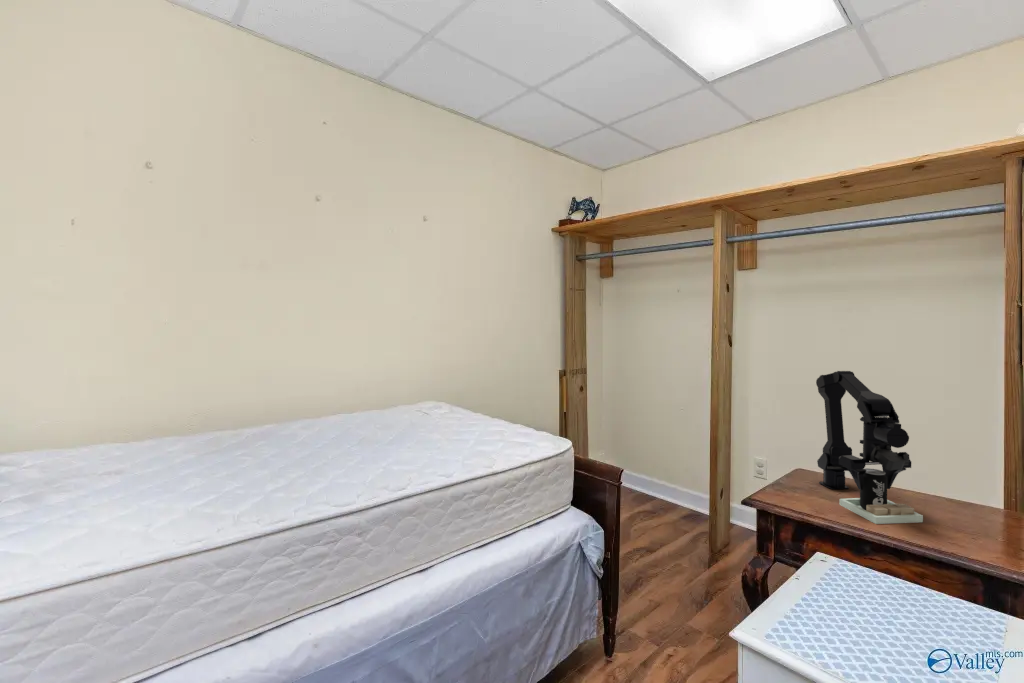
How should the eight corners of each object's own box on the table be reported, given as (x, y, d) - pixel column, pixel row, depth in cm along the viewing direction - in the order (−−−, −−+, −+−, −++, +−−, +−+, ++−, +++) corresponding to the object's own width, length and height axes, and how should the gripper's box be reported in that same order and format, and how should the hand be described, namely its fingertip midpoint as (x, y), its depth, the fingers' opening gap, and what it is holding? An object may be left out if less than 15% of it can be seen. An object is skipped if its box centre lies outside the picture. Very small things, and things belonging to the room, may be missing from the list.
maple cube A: (866, 516, 138) (866, 504, 138) (877, 516, 138) (877, 504, 138) (875, 521, 134) (876, 509, 134) (887, 521, 135) (887, 509, 134)
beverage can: (865, 512, 140) (865, 473, 140) (856, 504, 147) (856, 467, 146) (891, 515, 138) (891, 475, 138) (881, 506, 145) (881, 468, 144)
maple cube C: (892, 515, 139) (892, 503, 138) (904, 515, 138) (905, 503, 138) (900, 520, 135) (901, 508, 135) (913, 520, 135) (914, 508, 135)
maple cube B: (879, 516, 138) (879, 504, 138) (888, 515, 139) (888, 503, 138) (891, 521, 134) (891, 509, 134) (900, 520, 135) (900, 508, 135)
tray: (839, 506, 147) (839, 498, 147) (882, 504, 148) (882, 497, 147) (875, 525, 133) (875, 517, 133) (922, 524, 134) (922, 515, 133)
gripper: (866, 446, 133) (865, 500, 134) (929, 445, 134) (927, 498, 134) (837, 437, 144) (837, 486, 145) (895, 435, 145) (894, 484, 145)
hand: (874, 489), depth 142 cm, fingers open, 8 cm apart
